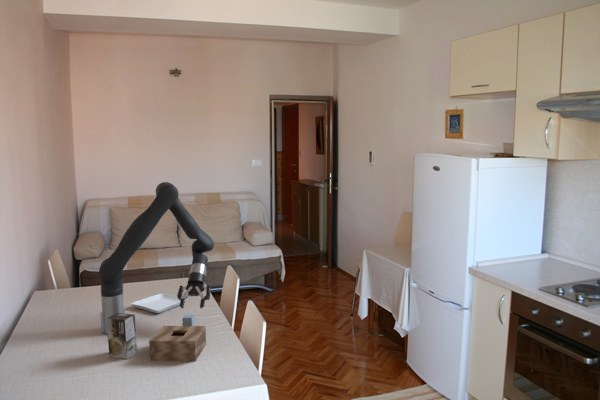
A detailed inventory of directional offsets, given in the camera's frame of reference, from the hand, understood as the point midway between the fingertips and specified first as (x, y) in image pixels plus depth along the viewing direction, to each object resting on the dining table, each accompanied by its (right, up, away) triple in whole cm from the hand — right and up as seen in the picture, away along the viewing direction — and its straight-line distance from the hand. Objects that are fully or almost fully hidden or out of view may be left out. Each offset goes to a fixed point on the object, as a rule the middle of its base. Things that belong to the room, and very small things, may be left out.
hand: (191, 307), depth 214 cm
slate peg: (0, -13, -4) cm, 13 cm away
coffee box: (-23, -15, -19) cm, 33 cm away
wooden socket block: (-1, -14, -18) cm, 22 cm away
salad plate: (-25, -9, +40) cm, 48 cm away
